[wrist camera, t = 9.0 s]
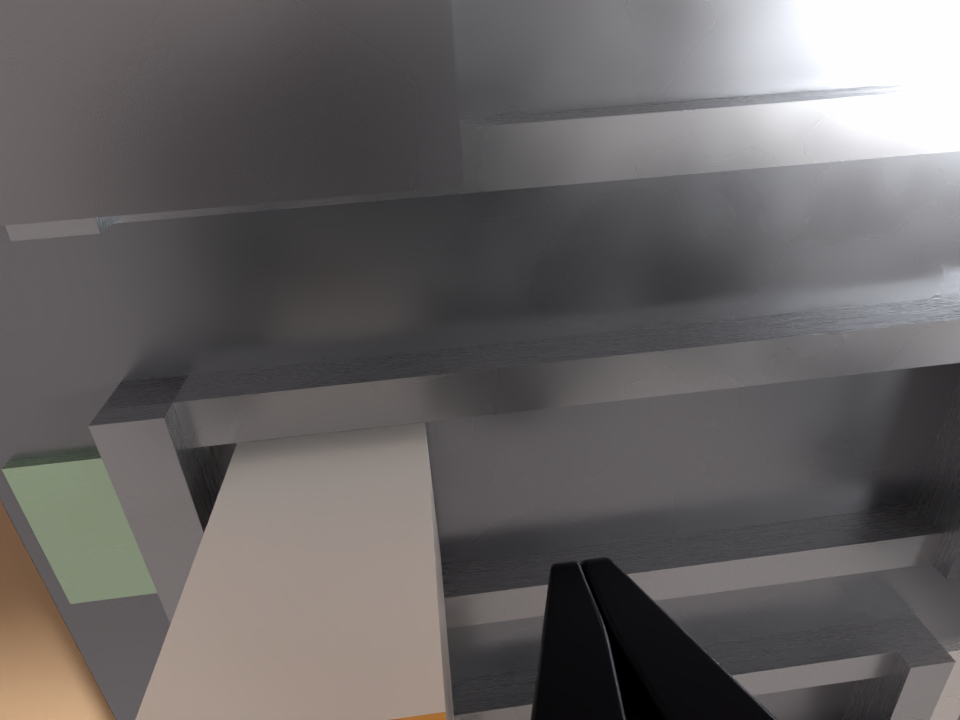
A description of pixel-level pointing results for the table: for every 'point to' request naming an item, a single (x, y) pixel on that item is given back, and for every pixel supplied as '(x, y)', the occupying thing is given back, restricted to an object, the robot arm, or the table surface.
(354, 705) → the handle
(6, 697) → the table surface
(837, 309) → the panel
